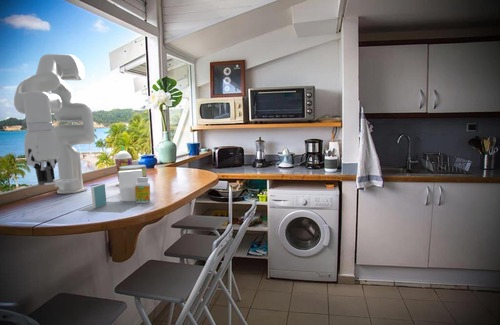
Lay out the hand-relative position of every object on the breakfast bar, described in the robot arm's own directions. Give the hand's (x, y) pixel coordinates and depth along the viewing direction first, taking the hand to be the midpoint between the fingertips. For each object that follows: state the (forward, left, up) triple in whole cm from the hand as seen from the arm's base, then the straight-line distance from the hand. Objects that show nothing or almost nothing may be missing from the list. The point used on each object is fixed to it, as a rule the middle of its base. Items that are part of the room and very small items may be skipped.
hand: (46, 180), depth 112 cm
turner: (+5, 0, -1) cm, 5 cm away
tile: (+13, +9, -12) cm, 20 cm away
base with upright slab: (+18, +22, -12) cm, 31 cm away
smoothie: (-8, +54, -12) cm, 56 cm away
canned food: (+11, +34, -12) cm, 38 cm away
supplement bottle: (+26, +17, -12) cm, 33 cm away
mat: (+18, +9, -12) cm, 24 cm away
